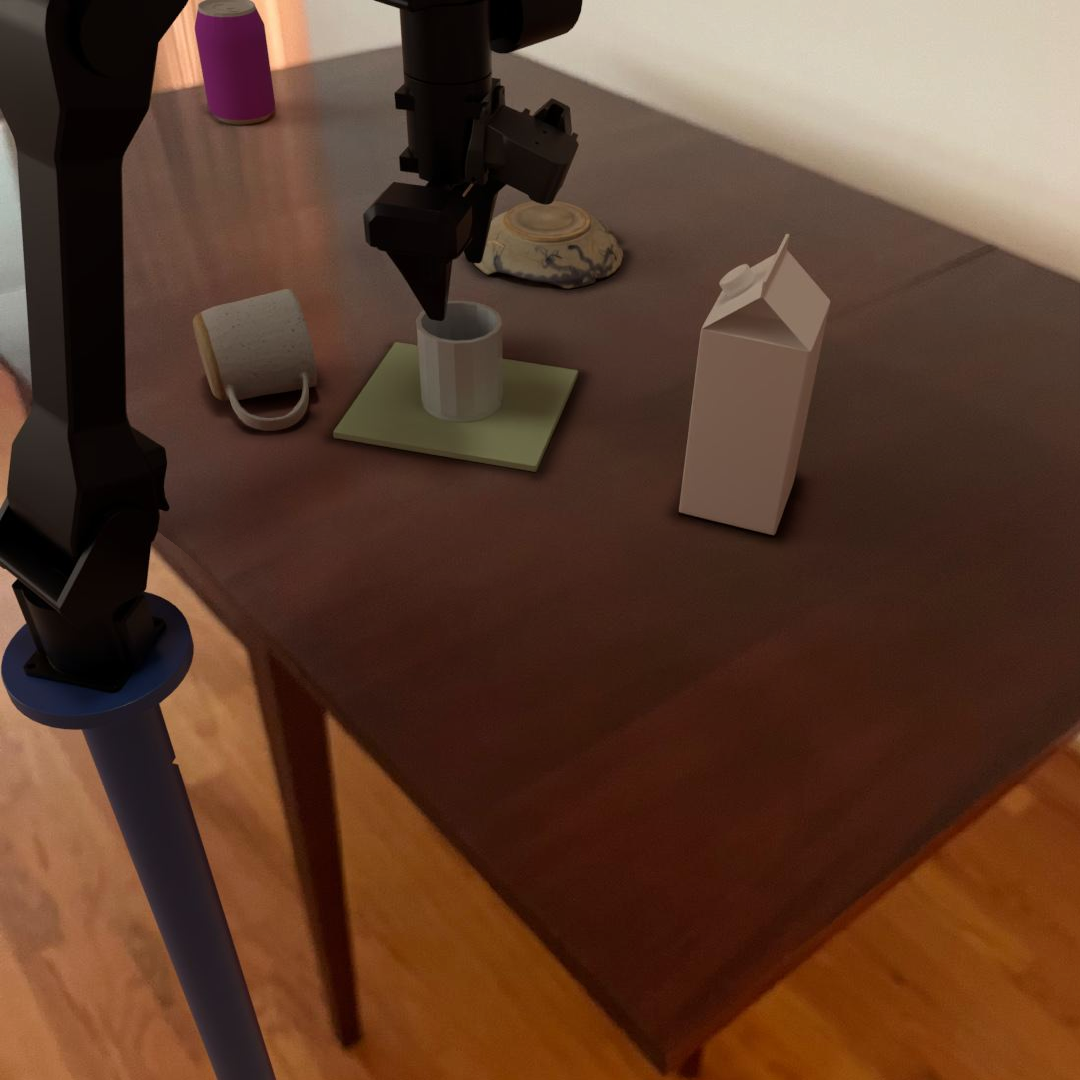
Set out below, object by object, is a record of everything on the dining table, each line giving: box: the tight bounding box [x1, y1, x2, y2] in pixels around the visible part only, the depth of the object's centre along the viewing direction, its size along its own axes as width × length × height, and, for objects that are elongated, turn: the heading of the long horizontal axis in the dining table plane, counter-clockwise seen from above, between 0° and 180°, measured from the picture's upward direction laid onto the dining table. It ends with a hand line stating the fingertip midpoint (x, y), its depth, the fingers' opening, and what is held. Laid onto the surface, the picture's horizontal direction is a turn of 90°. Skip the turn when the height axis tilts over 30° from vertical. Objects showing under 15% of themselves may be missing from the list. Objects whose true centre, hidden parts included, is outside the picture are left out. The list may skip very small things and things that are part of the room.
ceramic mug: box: [192, 288, 318, 432], centre depth 88 cm, size 11×8×8 cm
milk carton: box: [678, 233, 831, 536], centre depth 78 cm, size 7×7×19 cm
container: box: [415, 300, 503, 422], centre depth 89 cm, size 6×6×7 cm
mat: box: [332, 341, 579, 473], centre depth 91 cm, size 16×14×1 cm
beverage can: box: [194, 0, 276, 126], centre depth 131 cm, size 8×8×12 cm
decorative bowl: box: [473, 200, 624, 290], centre depth 111 cm, size 15×4×15 cm
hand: (456, 289), depth 84 cm, fingers open, 9 cm apart
